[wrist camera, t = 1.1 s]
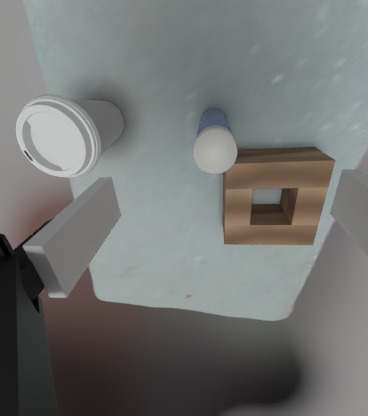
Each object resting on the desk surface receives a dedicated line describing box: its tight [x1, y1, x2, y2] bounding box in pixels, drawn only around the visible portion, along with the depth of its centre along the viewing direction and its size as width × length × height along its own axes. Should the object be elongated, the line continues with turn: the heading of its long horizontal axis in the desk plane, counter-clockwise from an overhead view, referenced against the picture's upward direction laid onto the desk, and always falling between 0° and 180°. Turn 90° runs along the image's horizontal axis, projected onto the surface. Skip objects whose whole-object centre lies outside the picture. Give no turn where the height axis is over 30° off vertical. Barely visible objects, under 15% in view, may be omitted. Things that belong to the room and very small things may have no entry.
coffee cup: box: [16, 94, 124, 177], centre depth 32 cm, size 10×10×15 cm
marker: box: [193, 108, 237, 174], centre depth 28 cm, size 4×4×18 cm
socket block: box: [223, 147, 335, 245], centre depth 38 cm, size 14×14×7 cm
